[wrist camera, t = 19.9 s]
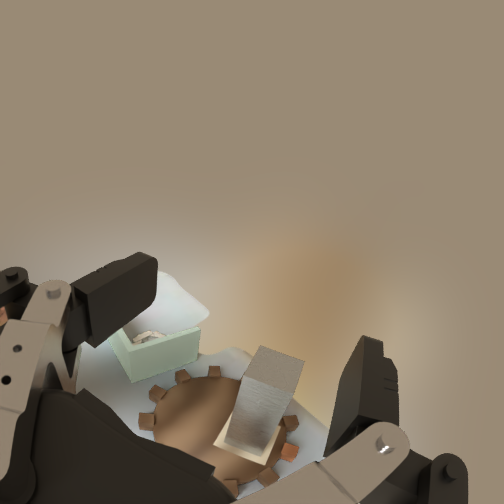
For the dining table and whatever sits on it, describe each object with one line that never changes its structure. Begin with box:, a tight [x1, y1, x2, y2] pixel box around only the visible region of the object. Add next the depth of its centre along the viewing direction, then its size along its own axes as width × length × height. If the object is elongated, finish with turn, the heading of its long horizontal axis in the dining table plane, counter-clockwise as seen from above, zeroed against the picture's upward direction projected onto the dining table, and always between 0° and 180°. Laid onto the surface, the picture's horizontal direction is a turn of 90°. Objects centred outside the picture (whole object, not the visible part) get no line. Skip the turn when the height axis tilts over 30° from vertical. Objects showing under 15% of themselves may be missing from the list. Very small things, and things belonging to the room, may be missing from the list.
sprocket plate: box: [138, 366, 299, 498], centre depth 34 cm, size 22×22×2 cm
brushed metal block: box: [224, 346, 304, 457], centre depth 30 cm, size 5×5×14 cm
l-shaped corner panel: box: [108, 326, 201, 383], centre depth 45 cm, size 12×12×8 cm
